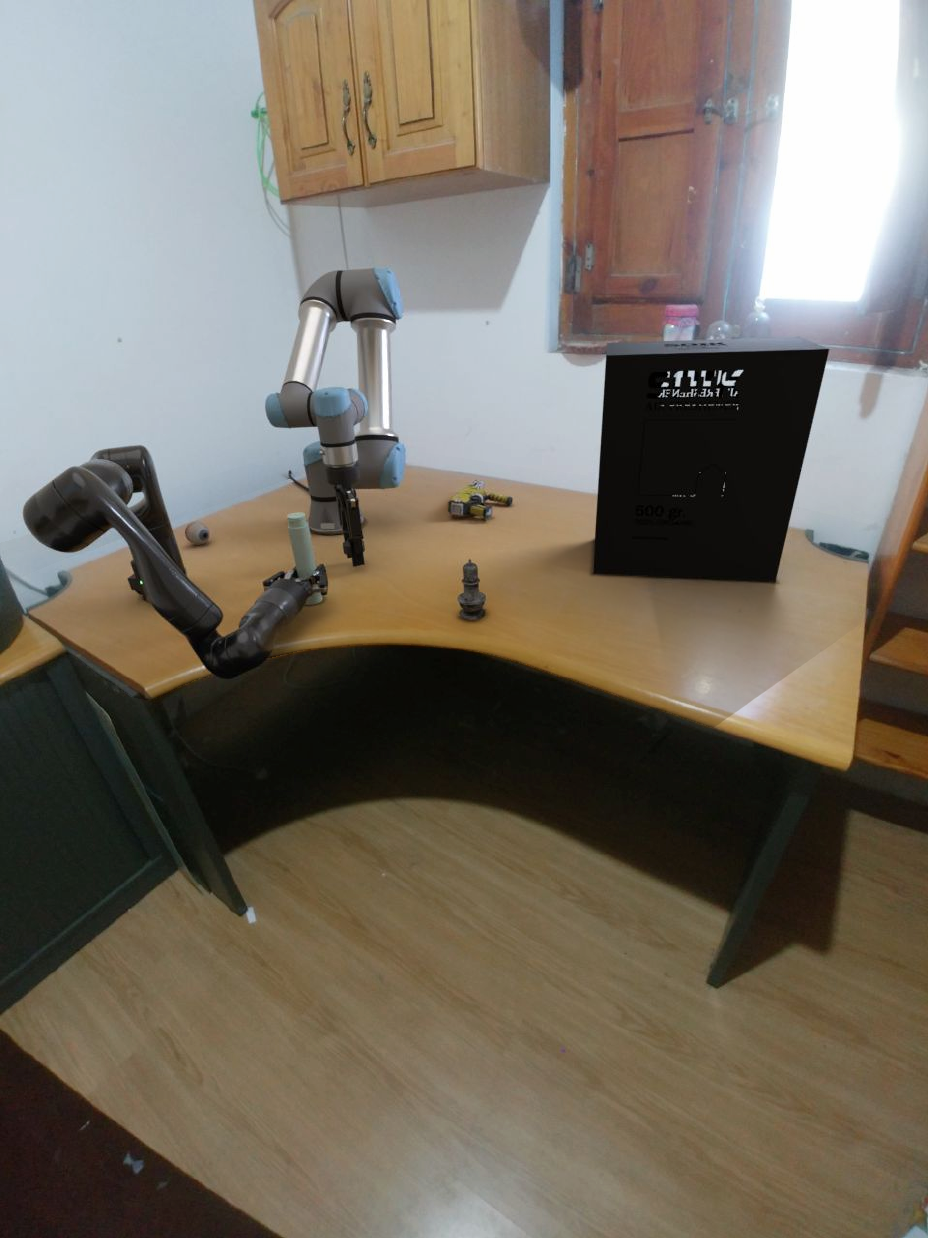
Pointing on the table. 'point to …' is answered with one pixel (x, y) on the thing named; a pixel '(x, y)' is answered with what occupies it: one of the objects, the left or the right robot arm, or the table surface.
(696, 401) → the black angular block
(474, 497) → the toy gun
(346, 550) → the lid
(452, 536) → the table surface
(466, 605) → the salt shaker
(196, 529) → the eyeball
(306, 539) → the bottle
